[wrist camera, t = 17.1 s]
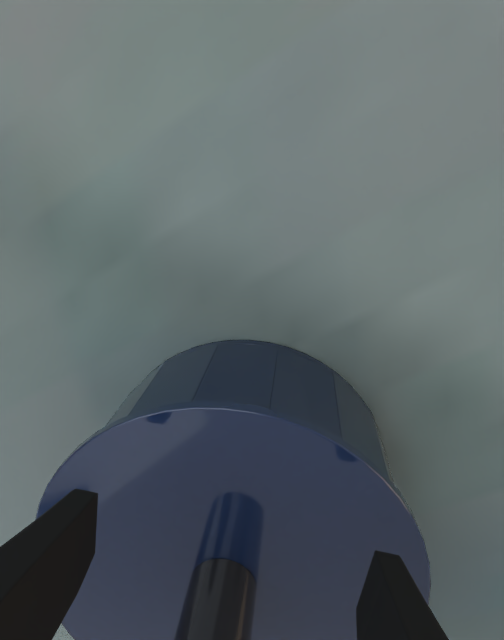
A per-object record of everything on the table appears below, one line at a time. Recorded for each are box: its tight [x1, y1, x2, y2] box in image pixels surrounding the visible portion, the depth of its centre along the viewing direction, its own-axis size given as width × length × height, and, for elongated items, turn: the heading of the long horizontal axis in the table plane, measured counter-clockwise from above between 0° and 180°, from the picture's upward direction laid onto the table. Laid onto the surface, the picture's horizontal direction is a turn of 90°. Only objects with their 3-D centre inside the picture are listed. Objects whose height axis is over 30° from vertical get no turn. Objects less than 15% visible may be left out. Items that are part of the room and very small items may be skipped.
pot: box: [105, 340, 395, 485], centre depth 20 cm, size 13×13×6 cm
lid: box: [35, 401, 431, 640], centre depth 15 cm, size 14×14×4 cm
